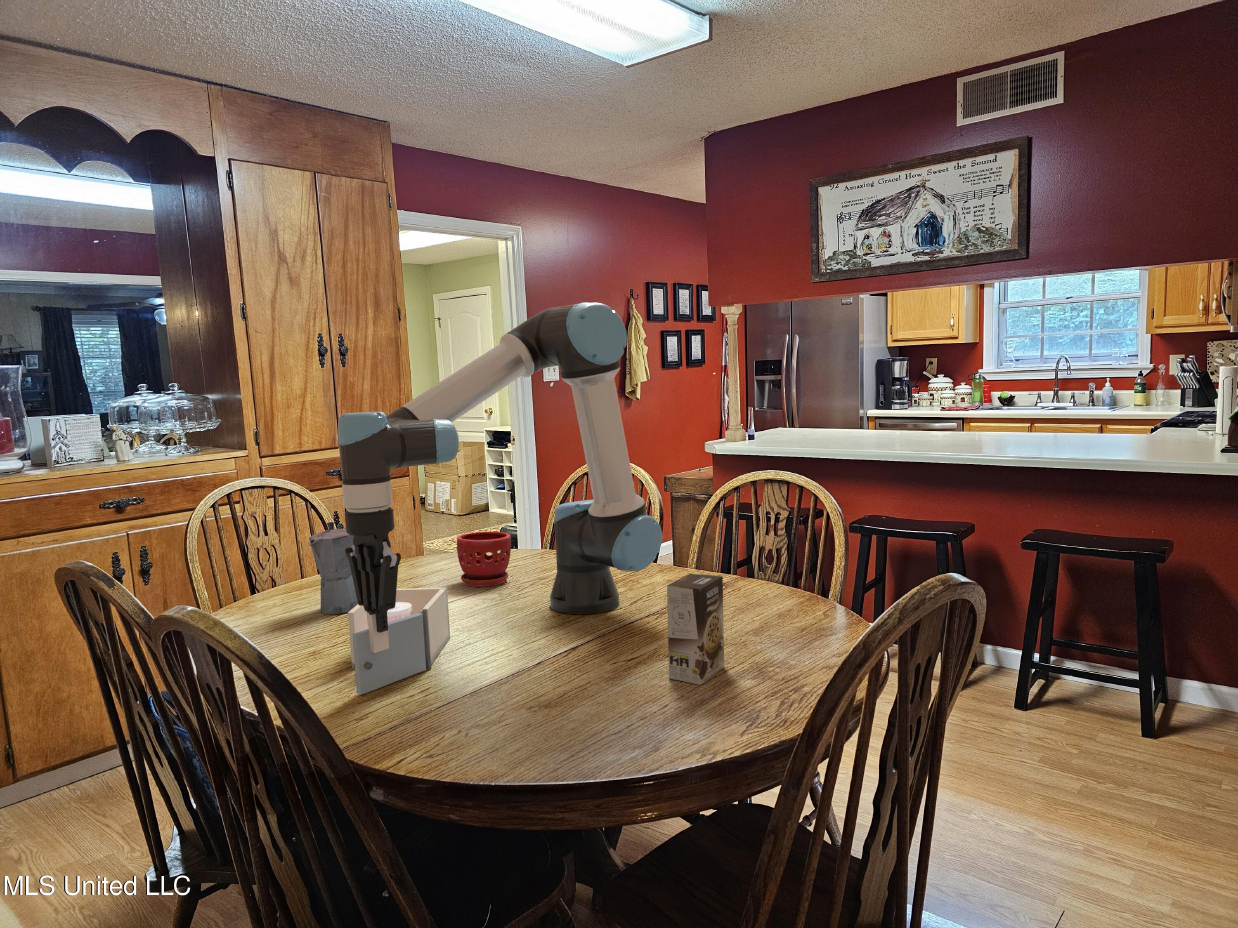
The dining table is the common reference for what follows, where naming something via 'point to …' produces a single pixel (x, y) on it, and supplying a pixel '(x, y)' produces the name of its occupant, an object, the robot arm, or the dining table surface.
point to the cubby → (423, 602)
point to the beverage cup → (399, 611)
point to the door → (390, 654)
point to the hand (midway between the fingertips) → (379, 649)
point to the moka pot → (334, 569)
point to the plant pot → (484, 557)
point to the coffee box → (695, 628)
